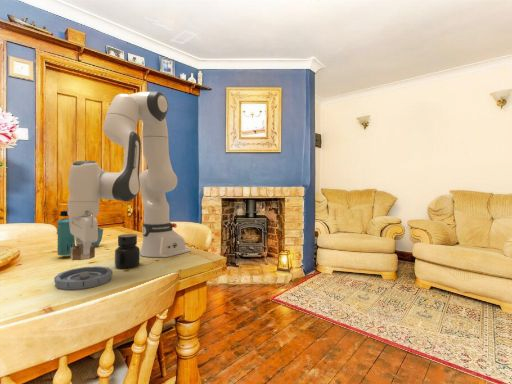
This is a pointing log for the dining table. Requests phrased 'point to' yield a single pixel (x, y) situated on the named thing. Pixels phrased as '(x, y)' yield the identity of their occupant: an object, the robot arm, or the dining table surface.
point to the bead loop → (78, 255)
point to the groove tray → (82, 283)
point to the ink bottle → (127, 252)
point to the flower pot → (100, 233)
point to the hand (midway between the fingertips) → (82, 251)
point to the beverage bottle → (64, 236)
